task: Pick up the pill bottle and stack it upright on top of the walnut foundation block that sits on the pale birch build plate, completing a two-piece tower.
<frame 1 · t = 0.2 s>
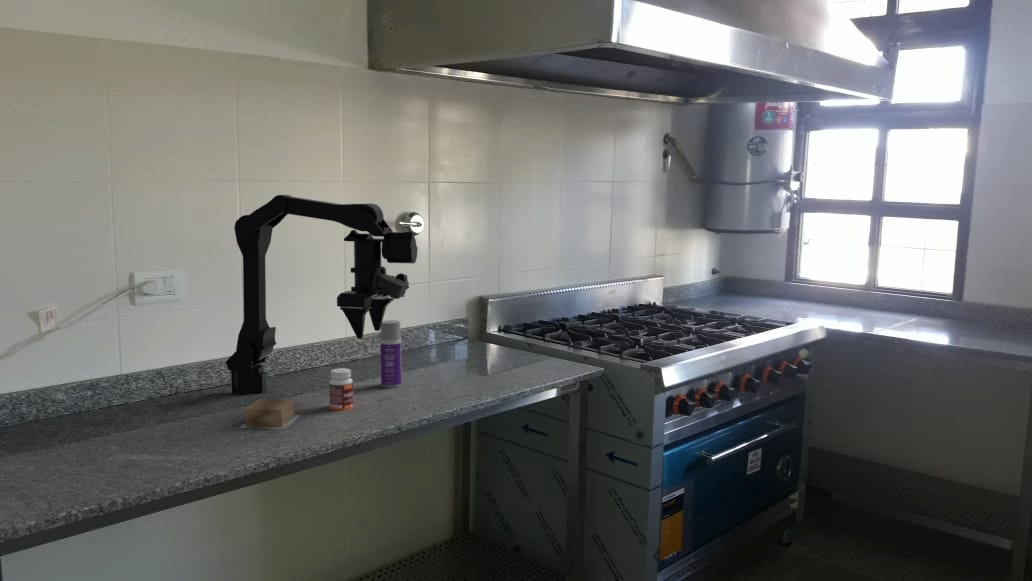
hand: (368, 334, 171), 14 cm above the counter, fingers open, 9 cm apart
pill bottle: (341, 410, 164), on the counter
build plate: (287, 423, 154), on the counter
container: (391, 386, 184), on the counter
walnut block: (270, 421, 154), point 1 cm above the counter, touching build plate
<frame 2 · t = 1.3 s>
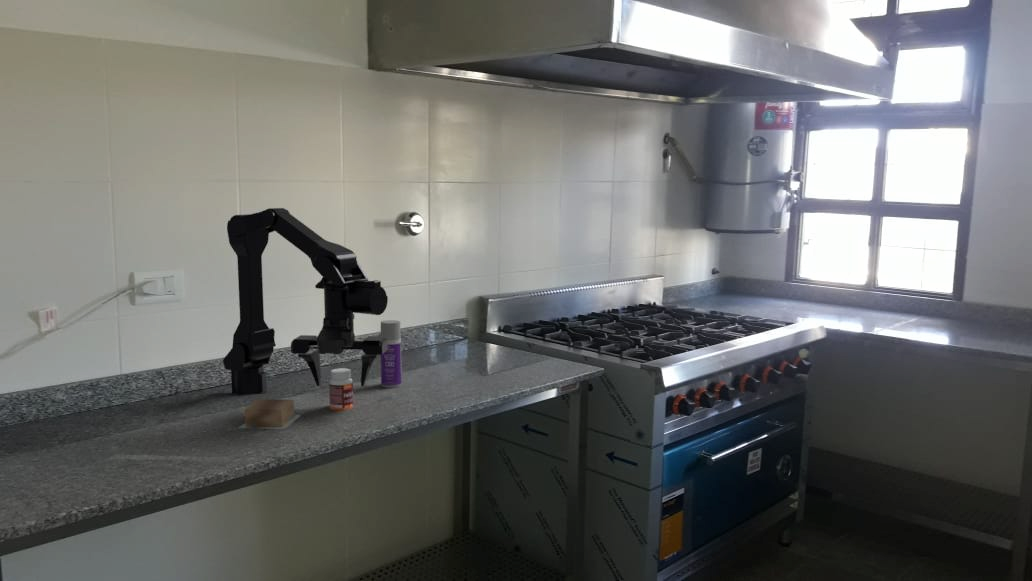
hand: (340, 386, 163), 5 cm above the counter, fingers open, 9 cm apart
nothing on the counter moved.
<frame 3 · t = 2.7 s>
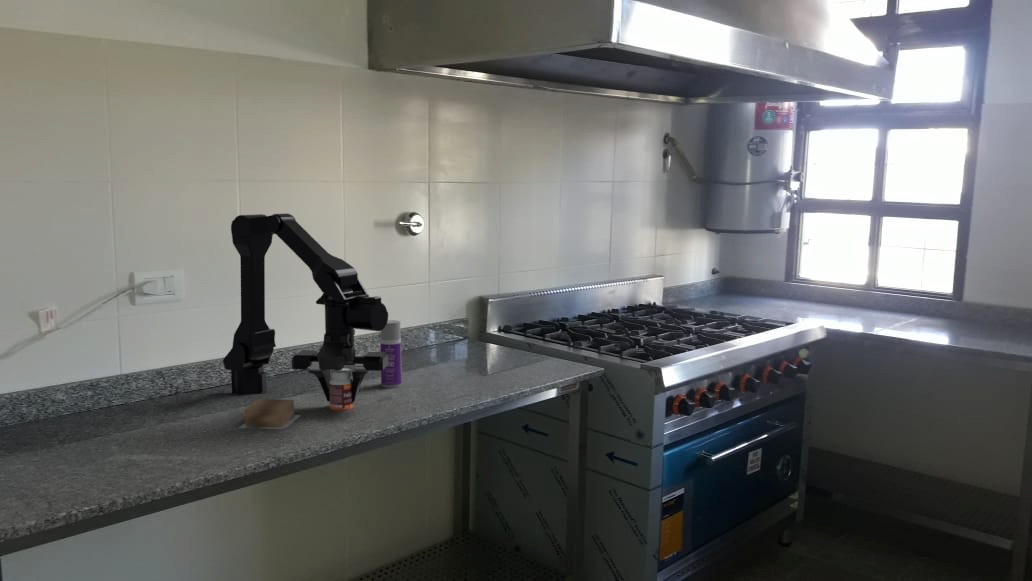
hand: (341, 401, 164), 2 cm above the counter, fingers closed on pill bottle, 5 cm apart
pill bottle: (341, 410, 164), on the counter, touching gripper
everything else where it was.
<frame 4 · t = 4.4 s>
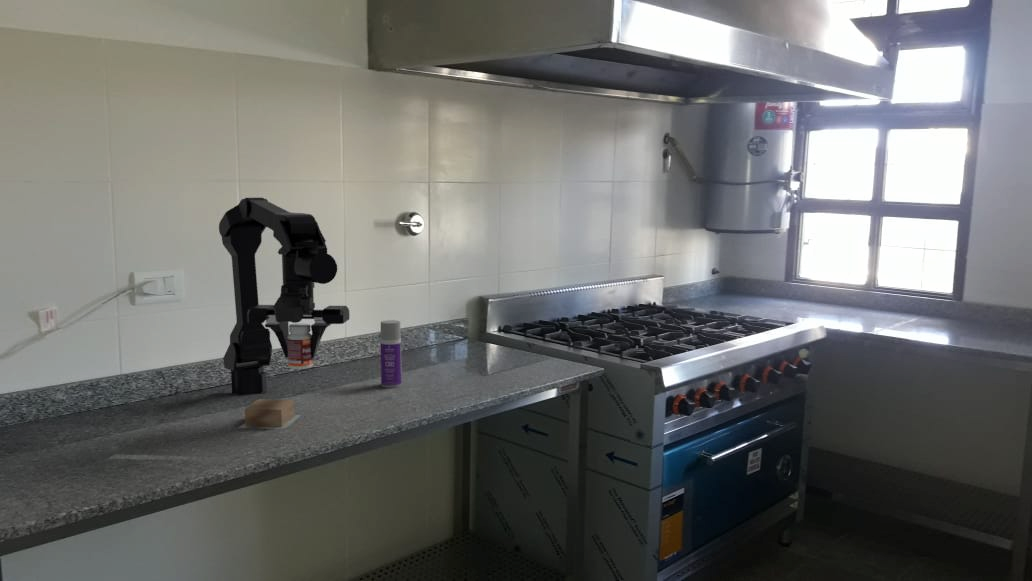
hand: (300, 357, 156), 12 cm above the counter, fingers closed on pill bottle, 5 cm apart
pill bottle: (300, 367, 157), point 10 cm above the counter, touching gripper
everything else where it was.
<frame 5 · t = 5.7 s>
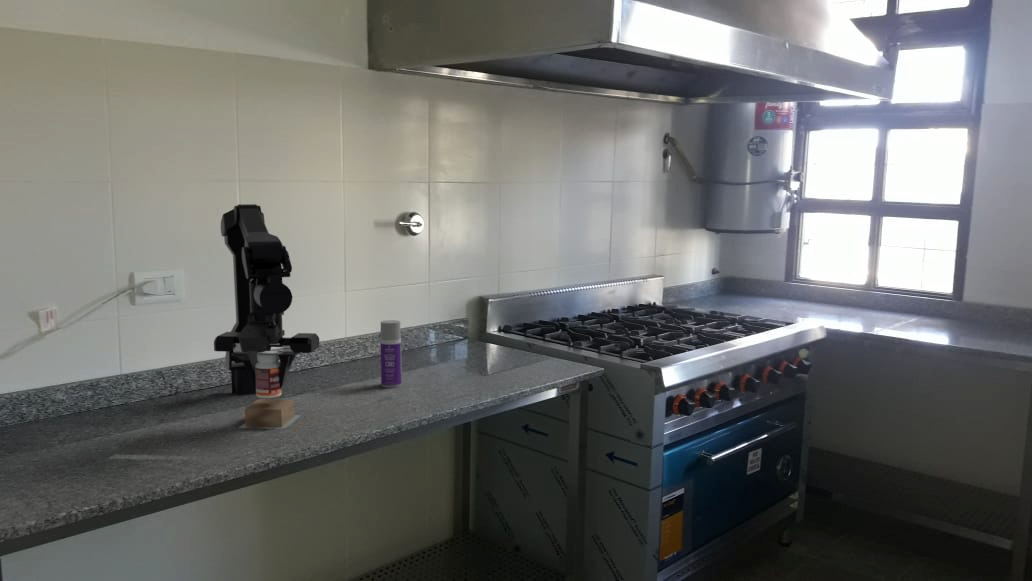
hand: (268, 386, 153), 8 cm above the counter, fingers closed on pill bottle, 5 cm apart
pill bottle: (269, 396, 153), point 6 cm above the counter, touching gripper
everything else where it was.
when the fingers open (7 cm above the counter, at t = 6.5 s): pill bottle drops 1 cm, resting on walnut block.
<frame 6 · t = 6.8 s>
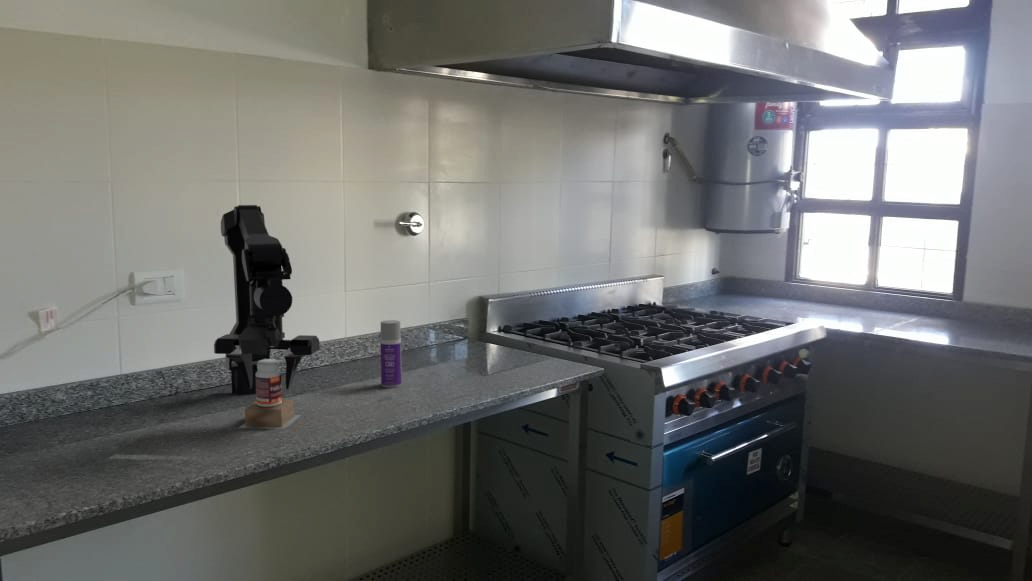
hand: (269, 388, 153), 7 cm above the counter, fingers open, 7 cm apart
pill bottle: (269, 404, 153), point 4 cm above the counter, touching walnut block
walnut block: (270, 421, 154), point 1 cm above the counter, touching build plate, pill bottle
everything else where it was.
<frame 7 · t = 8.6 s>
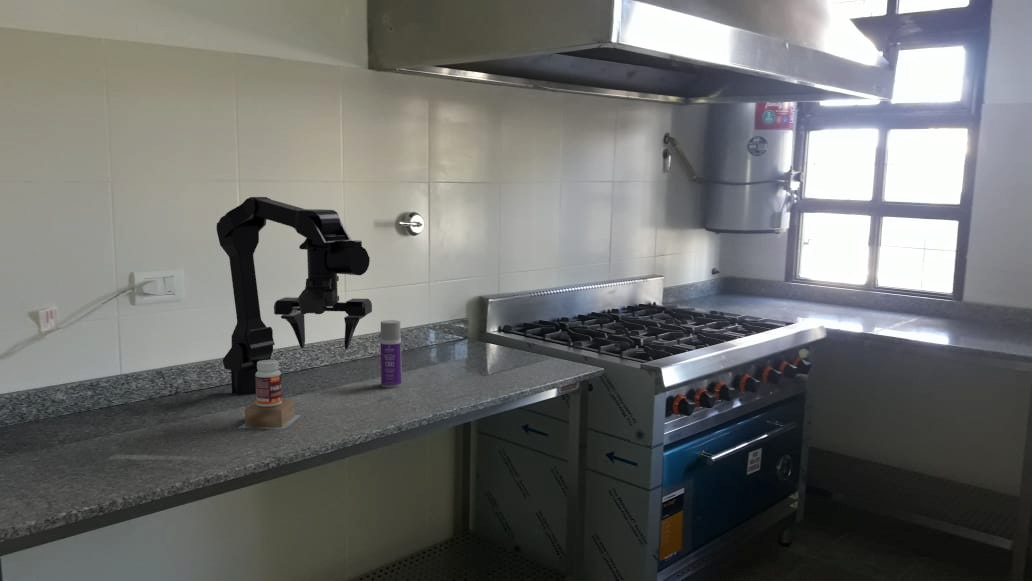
hand: (324, 348, 162), 13 cm above the counter, fingers open, 9 cm apart
nothing on the counter moved.
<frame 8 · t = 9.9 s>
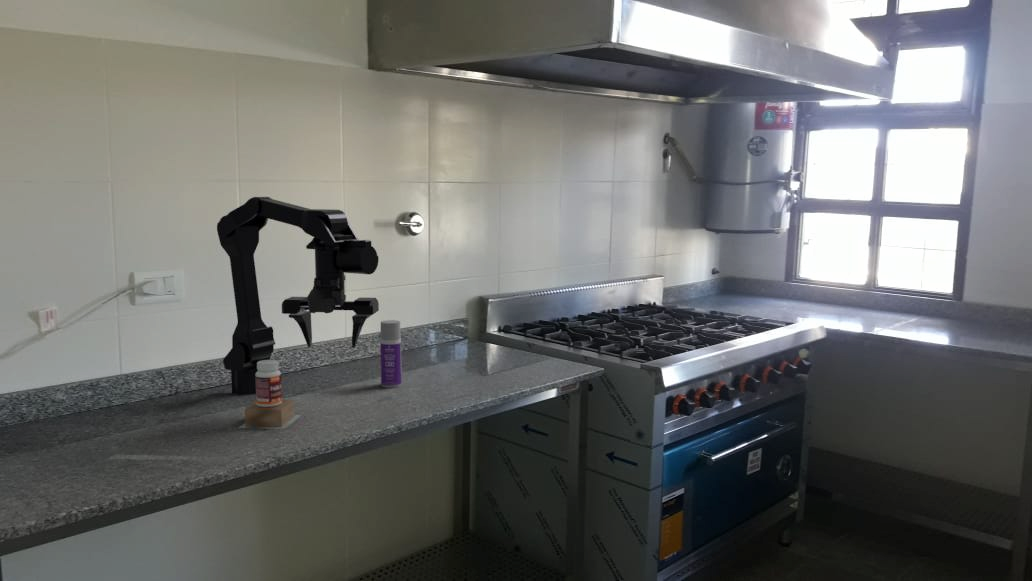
hand: (331, 347, 163), 13 cm above the counter, fingers open, 9 cm apart
nothing on the counter moved.
at the end: pill bottle 0.1 cm off-centre on the walnut block, point 3.2 cm above the walnut block's base; pill bottle tilted 0°; walnut block moved 0.0 cm from its start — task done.
